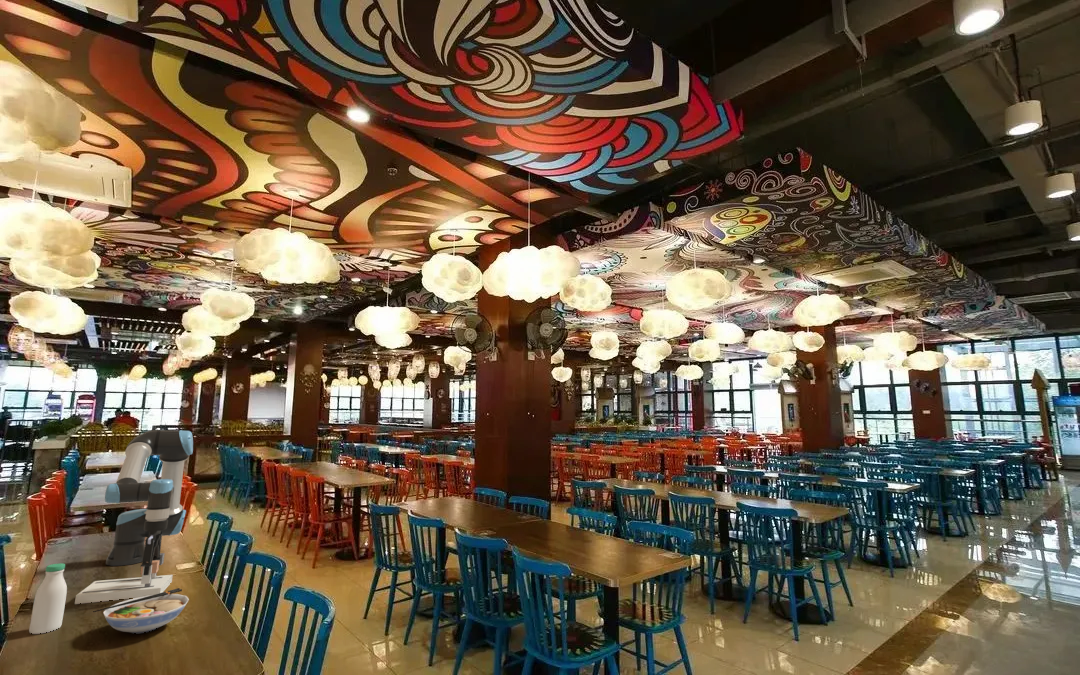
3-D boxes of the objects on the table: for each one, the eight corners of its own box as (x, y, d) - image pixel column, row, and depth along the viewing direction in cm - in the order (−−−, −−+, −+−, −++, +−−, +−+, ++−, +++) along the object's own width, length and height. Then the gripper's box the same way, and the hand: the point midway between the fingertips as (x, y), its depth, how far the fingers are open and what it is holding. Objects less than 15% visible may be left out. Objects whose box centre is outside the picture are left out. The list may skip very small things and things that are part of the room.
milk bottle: (67, 627, 168) (77, 563, 171) (37, 636, 160) (49, 569, 164) (52, 623, 170) (62, 560, 173) (22, 632, 163) (34, 566, 166)
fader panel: (94, 588, 204) (95, 580, 204) (171, 582, 214) (172, 574, 215) (74, 604, 188) (76, 595, 188) (159, 596, 198) (160, 587, 198)
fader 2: (147, 576, 210) (150, 554, 211) (161, 575, 212) (164, 553, 213) (144, 579, 207) (147, 555, 209) (159, 577, 209) (162, 554, 211)
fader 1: (141, 585, 199) (144, 561, 201) (156, 584, 201) (159, 560, 203) (138, 587, 197) (142, 563, 198) (154, 586, 199) (157, 562, 200)
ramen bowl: (111, 652, 151) (116, 622, 152) (82, 633, 163) (87, 606, 164) (202, 624, 172) (205, 599, 173) (171, 610, 184) (174, 586, 185)
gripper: (152, 515, 211) (144, 574, 207) (137, 524, 193) (128, 589, 189) (174, 514, 213) (166, 572, 210) (161, 523, 196) (152, 587, 192)
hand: (148, 580), depth 199 cm, fingers open, 7 cm apart
